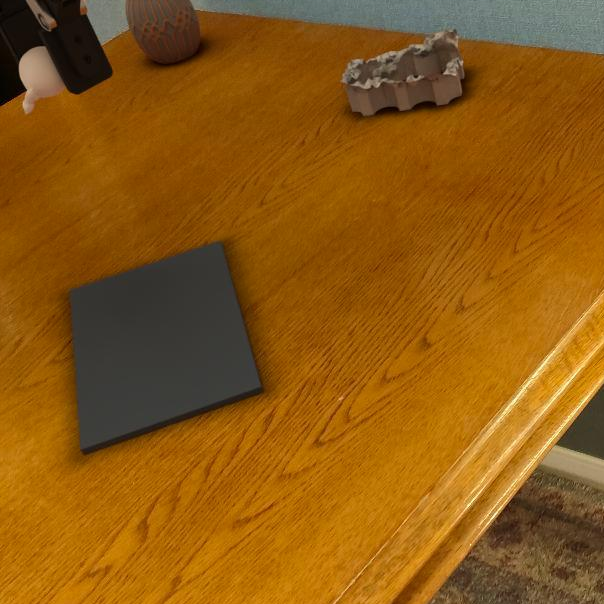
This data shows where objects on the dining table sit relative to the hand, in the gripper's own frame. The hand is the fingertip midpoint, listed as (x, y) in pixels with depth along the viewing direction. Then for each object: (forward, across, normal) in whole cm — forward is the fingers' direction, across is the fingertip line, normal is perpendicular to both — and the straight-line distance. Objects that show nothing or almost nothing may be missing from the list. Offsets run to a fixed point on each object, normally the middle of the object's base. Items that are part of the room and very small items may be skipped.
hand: (68, 74), depth 66 cm
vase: (+16, -34, +26) cm, 46 cm away
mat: (+15, +7, -6) cm, 18 cm away
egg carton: (+16, -2, +29) cm, 33 cm away
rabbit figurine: (+1, 0, 0) cm, 1 cm away
